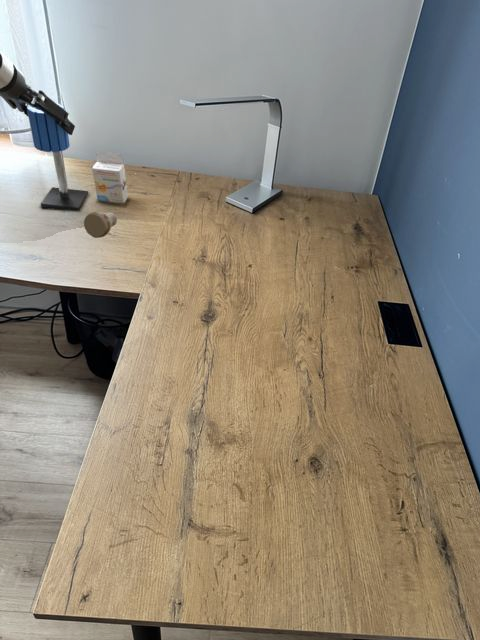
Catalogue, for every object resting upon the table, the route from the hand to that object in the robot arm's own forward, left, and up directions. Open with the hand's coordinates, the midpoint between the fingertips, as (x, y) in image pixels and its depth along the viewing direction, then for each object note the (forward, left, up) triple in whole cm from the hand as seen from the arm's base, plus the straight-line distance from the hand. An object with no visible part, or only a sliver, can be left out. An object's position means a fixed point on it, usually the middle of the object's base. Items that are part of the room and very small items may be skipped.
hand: (56, 126), depth 137 cm
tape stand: (-2, +3, -24) cm, 24 cm away
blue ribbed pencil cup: (-1, -3, -4) cm, 5 cm away
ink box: (+12, +6, -24) cm, 27 cm away
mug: (+13, -12, -24) cm, 30 cm away
